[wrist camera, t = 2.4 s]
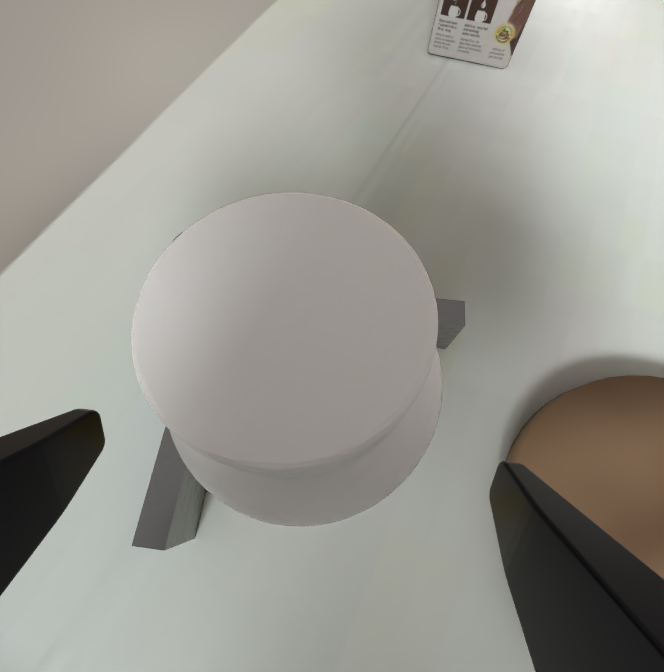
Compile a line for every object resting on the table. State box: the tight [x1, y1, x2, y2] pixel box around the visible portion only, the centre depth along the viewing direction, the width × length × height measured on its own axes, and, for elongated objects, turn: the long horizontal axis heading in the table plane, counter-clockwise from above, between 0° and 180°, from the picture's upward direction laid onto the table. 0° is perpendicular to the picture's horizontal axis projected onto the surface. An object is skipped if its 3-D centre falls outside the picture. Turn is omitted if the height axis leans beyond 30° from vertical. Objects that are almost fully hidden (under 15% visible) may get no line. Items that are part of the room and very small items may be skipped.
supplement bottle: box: [131, 192, 442, 526], centre depth 11 cm, size 7×7×13 cm
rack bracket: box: [132, 232, 465, 550], centre depth 15 cm, size 12×12×6 cm
